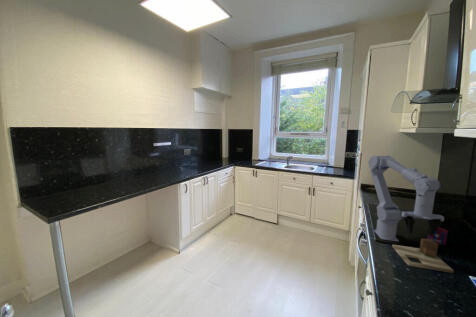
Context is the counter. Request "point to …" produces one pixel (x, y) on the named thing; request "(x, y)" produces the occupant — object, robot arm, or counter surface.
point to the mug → (439, 236)
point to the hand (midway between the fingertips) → (419, 233)
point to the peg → (428, 247)
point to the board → (421, 259)
